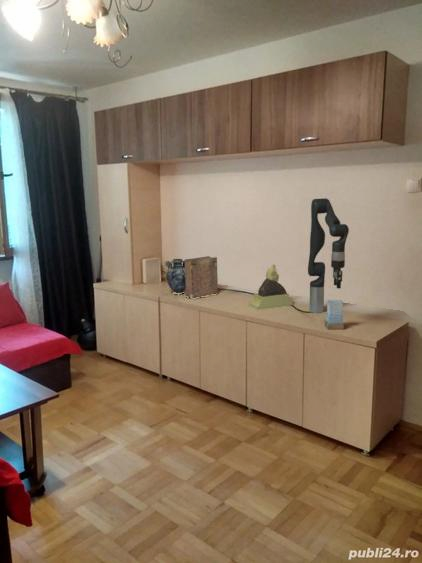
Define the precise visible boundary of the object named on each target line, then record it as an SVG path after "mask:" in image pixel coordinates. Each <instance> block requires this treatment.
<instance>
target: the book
mask: <svg viewBox="0 0 422 563" xmlns="http://www.w3.org/2000/svg"><path fill="white" fill-rule="evenodd" d="M184 260H185V259H184ZM218 280H219V279H218V257H216V256H215V257H211V256H209V255H208V256H202V257H201V256H200V257H194V258H186V260H185V285H186V289H185V297H186V296H188V297H192V298H196V297H201V296H206V295H211V294H216V293H218V294H219V290H218V289H219V286H218V284H219V283H218Z"/></svg>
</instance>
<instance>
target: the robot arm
mask: <svg viewBox="0 0 422 563" xmlns="http://www.w3.org/2000/svg"><path fill="white" fill-rule="evenodd" d="M310 205H311V206H310V213H311V214H310V215H311V216H310V218H311V219H310V220H311V223H310V235H309V236H310V237H309V255H308V264H307V275H308V276H309V277H317V278H316V279H314V280H313V279H312V280H311V281H310V282H309V312H310V313H313V314H314V313H315V314H321V313H324V308H325V279H326V278H325V277H326V264H325V262H324V261H319V262H318V261H315V260H316V258H317V256H318V254H319V253H320V251H321V250H323V248H324V245H325V242H326V241H325V240H326V232H325V230H324V229H323V227H322V225H321V224H320V221H319V217H318V216H319V214H320V215H322V214H326V215H325V217H324V221H325V224H326V226H327V227H328V230H329V235H330V236H331V237H333V238H338V240H334V241H333V242H332V243H331V254H330V256H331V260H330V261H331V263H330V267H331V268H333V269H332V270H333V271H332V278H333V286H336V289H341V288H342V282H343V270H342V269H343V268H345V265H346V263H345V262H346V255H345V254H346V253H345V252H346V242H347V238H348V236H349V233H350V228H349V226H348V225H347V224H345V223H341V221H340V219H339V218H338V216H337V215H336V214H335V210H334V208H333V206H332V203H331V201H330V200H329V199H328V198H325V197H324V198H314V199H312V200H311V204H310Z"/></svg>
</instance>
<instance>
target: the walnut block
mask: <svg viewBox="0 0 422 563" xmlns="http://www.w3.org/2000/svg"><path fill="white" fill-rule="evenodd" d="M344 325H345V324H344V322H343V323H328V322H327V321H326V320H325V319H324V326H325V328H326V329H327V330H328V331H334V330H335V331H340V330H341V331H342V330H343V331H344V329H345V328H344Z"/></svg>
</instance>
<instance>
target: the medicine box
mask: <svg viewBox="0 0 422 563" xmlns="http://www.w3.org/2000/svg"><path fill="white" fill-rule="evenodd" d="M326 303H327V308H326V309H327V310H326V311H327V312H326V313H327V314H328V315H329V316H336V315H342V316H343V312H344V311H343V310H344V308H343V307H344V306H343V305H344V304H343V303H344V301H343V300H342V299H328V300H327V302H326Z"/></svg>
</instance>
